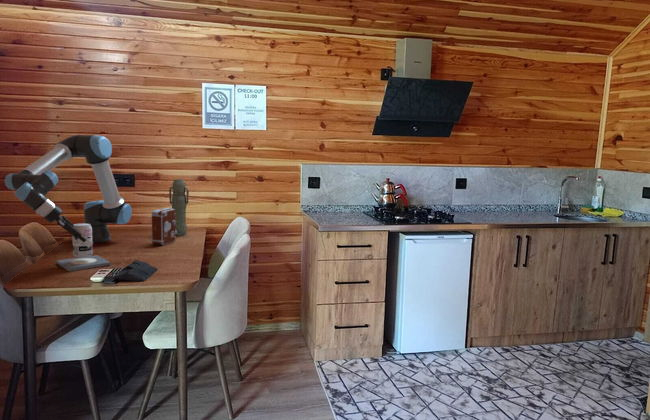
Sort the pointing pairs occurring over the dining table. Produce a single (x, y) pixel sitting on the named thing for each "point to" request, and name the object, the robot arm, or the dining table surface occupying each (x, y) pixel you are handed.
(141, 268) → the crumpled black cloth
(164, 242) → the cine camera
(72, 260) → the board
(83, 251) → the supplement can
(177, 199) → the thermos
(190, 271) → the dining table surface
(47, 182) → the robot arm
